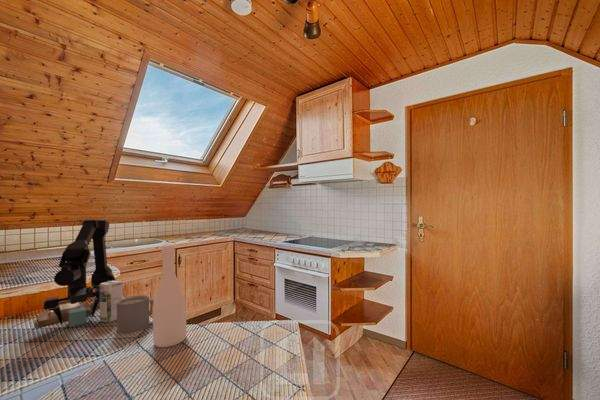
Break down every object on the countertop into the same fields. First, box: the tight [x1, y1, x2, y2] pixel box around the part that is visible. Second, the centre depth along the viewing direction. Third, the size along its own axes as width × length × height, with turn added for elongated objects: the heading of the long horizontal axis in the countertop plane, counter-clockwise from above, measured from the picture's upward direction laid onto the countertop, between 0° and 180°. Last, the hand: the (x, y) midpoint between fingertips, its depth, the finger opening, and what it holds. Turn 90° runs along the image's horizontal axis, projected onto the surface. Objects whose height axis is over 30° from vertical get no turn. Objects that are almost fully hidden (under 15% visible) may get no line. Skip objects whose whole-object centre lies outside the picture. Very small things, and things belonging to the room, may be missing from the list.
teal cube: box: [68, 307, 88, 328], centre depth 104 cm, size 5×5×5 cm
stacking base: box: [37, 302, 92, 328], centre depth 113 cm, size 16×13×4 cm
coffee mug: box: [116, 294, 155, 335], centre depth 99 cm, size 13×10×10 cm
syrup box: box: [99, 280, 124, 323], centre depth 107 cm, size 6×6×14 cm
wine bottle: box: [152, 244, 188, 348], centre depth 86 cm, size 10×10×30 cm
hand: (77, 320), depth 104 cm, fingers open, 9 cm apart
